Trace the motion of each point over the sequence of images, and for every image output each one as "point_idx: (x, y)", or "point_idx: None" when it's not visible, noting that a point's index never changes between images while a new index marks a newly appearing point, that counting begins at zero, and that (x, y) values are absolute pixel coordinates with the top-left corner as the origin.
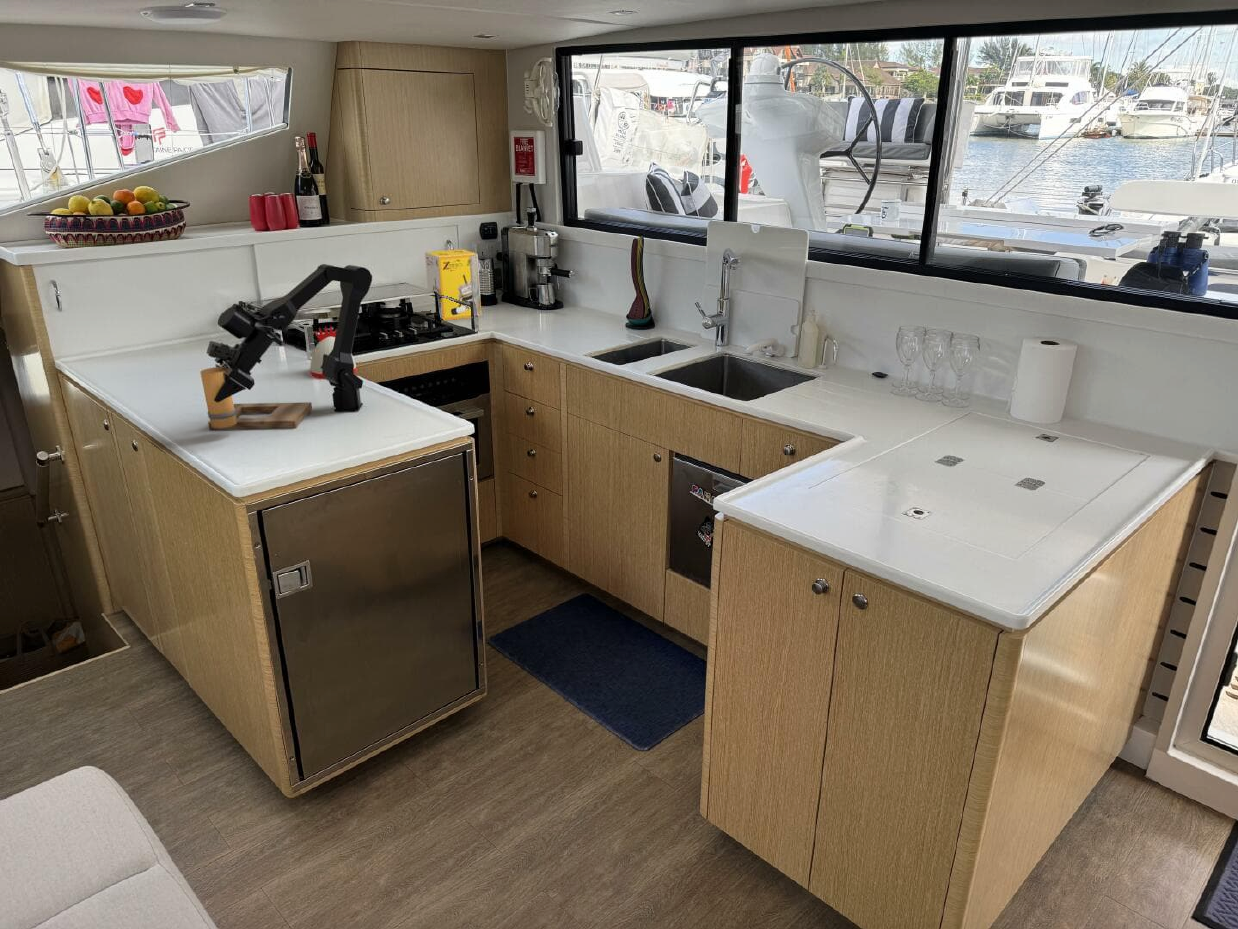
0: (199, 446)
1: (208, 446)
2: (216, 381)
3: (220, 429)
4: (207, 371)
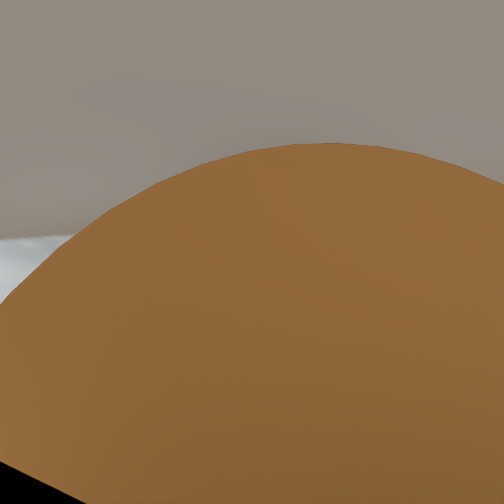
0: None
1: None
2: (7, 498)
3: None
4: (420, 329)
